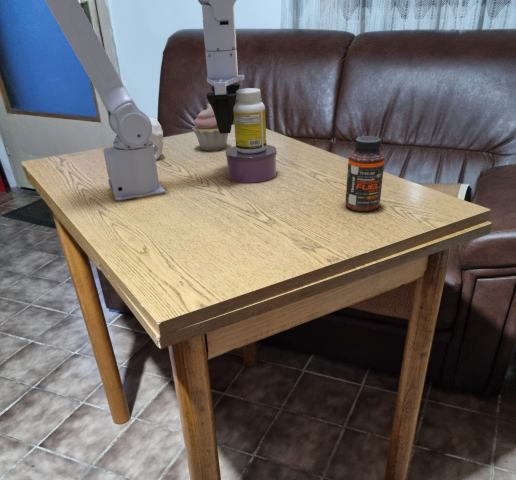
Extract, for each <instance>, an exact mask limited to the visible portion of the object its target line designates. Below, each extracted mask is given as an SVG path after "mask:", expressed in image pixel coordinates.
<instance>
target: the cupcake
mask: <svg viewBox="0 0 516 480" xmlns="http://www.w3.org/2000/svg"><path fill="white" fill-rule="evenodd" d="M193 123H194V124H193V125H194V127H191V130H192V131H193V133H194V135H195V137H196V138H197V141H198V145H199V147H200V149H201V150H203V151H208V152H213V151H221V150H223V149H226V148H227V143H228V137H229V133H224V134H220V133H219V130H218V126H217V123H216V119H215V115H214V112H213V109H212V107H211V105H210V103H207V105H206V109H204V110H201V111H200V112H199V113H198V114H197V117H196V118H195V119H194V121H193Z"/></svg>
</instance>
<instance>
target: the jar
mask: <svg viewBox="0 0 516 480" xmlns="http://www.w3.org/2000/svg"><path fill="white" fill-rule="evenodd" d="M277 152H278V151H277V148H276V147H275V146H274V145H271V144H266V149H265V150H264V151H262V152H259V153H254V154H245V153H241V152H238V151H237V149H236V145H234V146H231V147H228V148H227V149H226V150H225V157H226V164H227V165H226V167H227V178H228V179H229V180H231V181H232V182H237V183H242V184H243V183H244V184H253V183H261V182H267V181H269V180H272V179H274V178H275V177H276V176H277Z"/></svg>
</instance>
